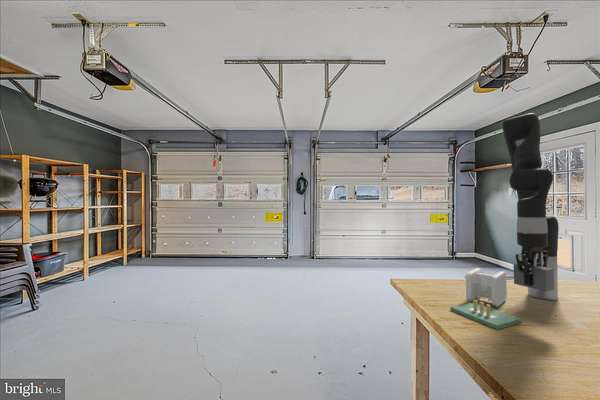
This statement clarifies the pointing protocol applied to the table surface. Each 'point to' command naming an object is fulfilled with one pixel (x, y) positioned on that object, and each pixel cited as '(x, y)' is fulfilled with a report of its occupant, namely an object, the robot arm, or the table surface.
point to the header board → (486, 314)
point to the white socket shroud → (486, 286)
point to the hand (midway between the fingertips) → (533, 283)
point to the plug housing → (536, 278)
